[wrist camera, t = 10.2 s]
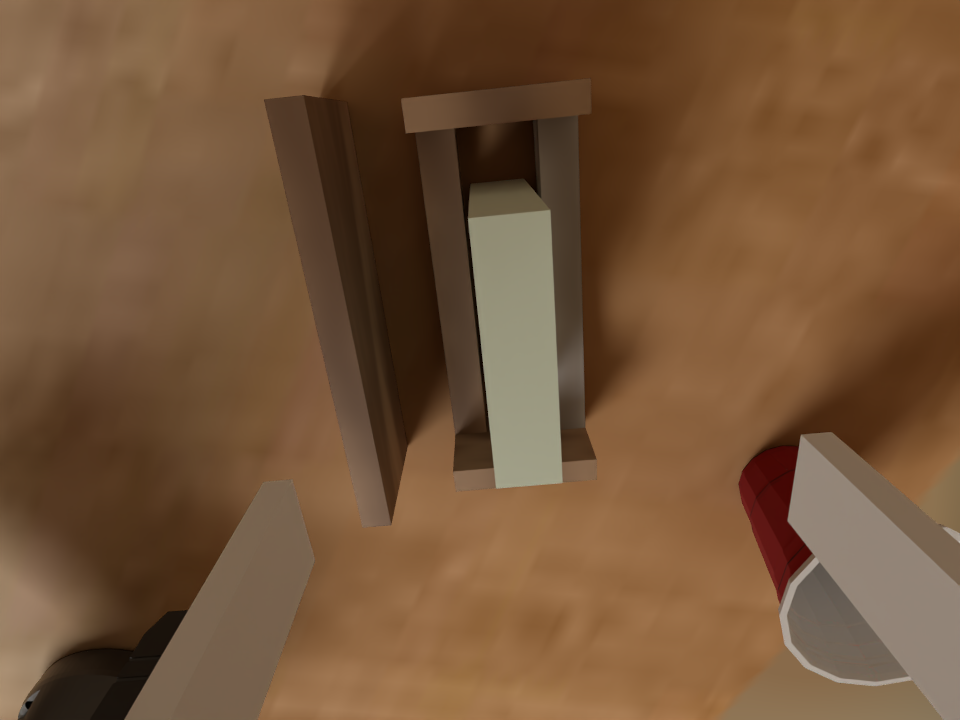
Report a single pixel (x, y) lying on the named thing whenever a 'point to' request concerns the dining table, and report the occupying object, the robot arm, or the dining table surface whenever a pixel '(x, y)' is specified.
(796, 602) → the plastic cup
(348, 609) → the dining table surface
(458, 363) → the track
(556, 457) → the door panel
